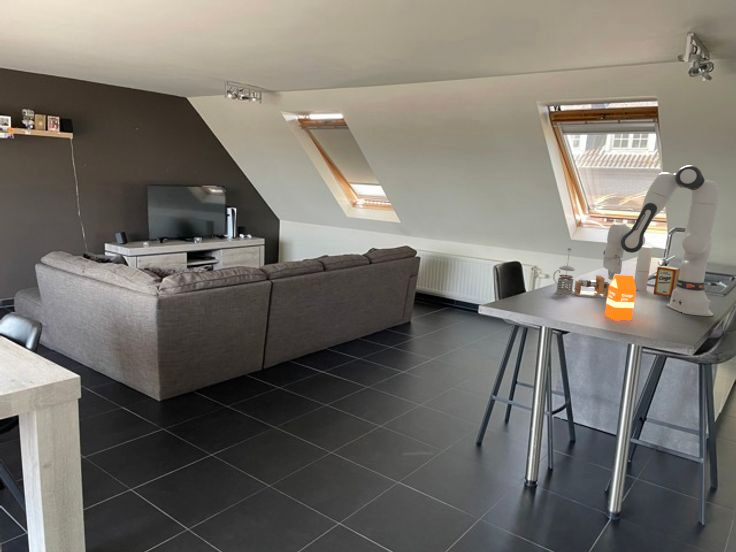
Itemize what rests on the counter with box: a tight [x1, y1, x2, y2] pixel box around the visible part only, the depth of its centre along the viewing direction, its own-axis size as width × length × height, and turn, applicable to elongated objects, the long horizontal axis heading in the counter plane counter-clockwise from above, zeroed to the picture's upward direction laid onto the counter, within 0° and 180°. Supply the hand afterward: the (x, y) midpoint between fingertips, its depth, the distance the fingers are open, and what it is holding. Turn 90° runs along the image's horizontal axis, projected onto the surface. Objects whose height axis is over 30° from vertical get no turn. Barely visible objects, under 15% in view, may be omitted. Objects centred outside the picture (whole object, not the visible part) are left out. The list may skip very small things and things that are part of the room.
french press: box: [552, 247, 576, 296], centre depth 294 cm, size 10×12×25 cm
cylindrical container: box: [634, 245, 654, 291], centre depth 317 cm, size 7×7×25 cm
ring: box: [593, 274, 606, 294], centre depth 294 cm, size 9×2×9 cm, turn 172°
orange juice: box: [604, 274, 637, 321], centre depth 246 cm, size 8×9×20 cm
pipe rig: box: [572, 279, 610, 299], centre depth 295 cm, size 11×19×8 cm, turn 82°
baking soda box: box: [653, 265, 680, 298], centre depth 304 cm, size 10×6×16 cm
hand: (610, 279), depth 293 cm, fingers closed
